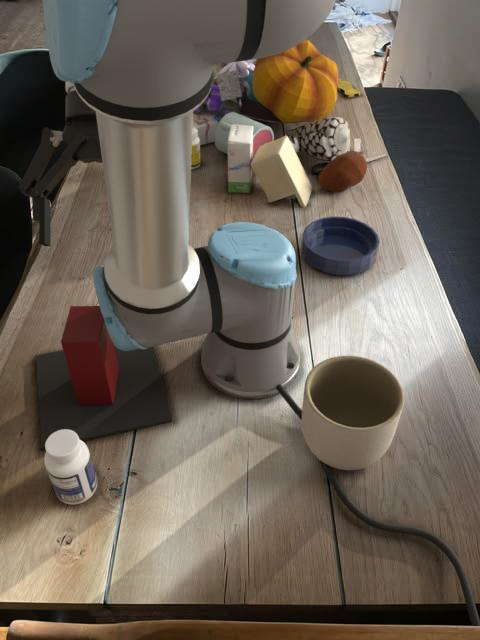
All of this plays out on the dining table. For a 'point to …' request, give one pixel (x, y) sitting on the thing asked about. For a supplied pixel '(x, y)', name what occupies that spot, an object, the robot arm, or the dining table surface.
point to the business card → (229, 85)
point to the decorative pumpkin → (297, 84)
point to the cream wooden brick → (281, 172)
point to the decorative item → (347, 88)
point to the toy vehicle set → (355, 145)
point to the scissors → (328, 162)
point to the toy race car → (224, 106)
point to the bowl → (339, 245)
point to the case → (90, 356)
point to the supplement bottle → (195, 149)
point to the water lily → (238, 67)
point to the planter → (350, 411)
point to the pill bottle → (70, 467)
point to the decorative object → (255, 105)
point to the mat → (102, 420)
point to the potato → (343, 172)
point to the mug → (260, 131)
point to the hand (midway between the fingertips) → (93, 244)
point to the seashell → (322, 138)
